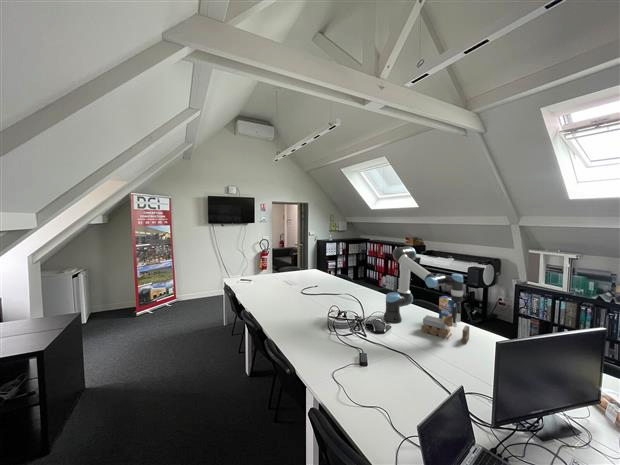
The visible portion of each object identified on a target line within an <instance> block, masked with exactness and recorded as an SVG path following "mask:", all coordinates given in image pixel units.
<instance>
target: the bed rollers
mask: <svg viewBox="0 0 620 465" xmlns="http://www.w3.org/2000/svg"><path fill="white" fill-rule="evenodd" d="M421 331H422V333H424V334H428V333H430V335H431V336H437V335H438V337H439V338H442V339H445V338H447V337H448V335H449V334H450V333H451V328H450V326H448V327H447V328H446V329H445V330H444V329H440V328H437V327H433V326H429V325H426V324H423V325H422V326H421Z"/></svg>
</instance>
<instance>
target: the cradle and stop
mask: <svg viewBox="0 0 620 465" xmlns="http://www.w3.org/2000/svg"><path fill="white" fill-rule="evenodd" d="M452 336H453V333H452V332H449V333H448V335H447V336H446V339H447V340H449V339H450V338H451V337H452ZM469 340H470V325H465V326H464V327H463V329H462V336H461V339H460V340H459V343H462V344H464V345H467V343H468V342H469Z"/></svg>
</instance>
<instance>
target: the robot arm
mask: <svg viewBox="0 0 620 465" xmlns="http://www.w3.org/2000/svg"><path fill="white" fill-rule="evenodd" d="M392 257H393V259H394V260H395V262H397V263H398V264H400V267H399V268H400V269H399V285H398V289H396V290H397V291H396V292H394V291H393V292H392V291H391V292H388V293H386V296H385V311H384V314H383V320H384V321H385V322H387V323H390V324H400V323H402V320H403V319H402V318H403V317H402V316H401V312H400V308H402V307H406V306H410V305H411V304H412V303H413V301H414V296H413V294H412V293H411V290H410V282H411V280H410V279H411V272H412V273H414V274H415V275H416V276H418V277H419V278H420V279H422V280H423V281H424V282H425V284H426V286H427V287H429V288H436V287H439V286H440V287H441V286H448V287H449V286H450V290H451V291H450V294H451V295H450V297H451V300H453V301H454V303H453V309H452V317H451V318H452V326H451V327H453V328H457V327H458V325H457V324H458V323H461V314H462V306H461V303H462V302H463V301H464V297H463V295H464V293H465V292H464V276H463V275H462V274H459V273H452V274H451V275H447V274H445V273H437V274H436V275H434V274H433V273H431V272H430V271H428V270H427V269H425V267H423V266H421V265H420V264H418V263H417V262H415V260H414V259H415V258H416V257H417V252H416V250H415V248H414V247H412V246H399V247H396V248H394V249H393V251H392ZM454 316H455V317H454Z"/></svg>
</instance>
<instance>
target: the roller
mask: <svg viewBox="0 0 620 465" xmlns="http://www.w3.org/2000/svg"><path fill="white" fill-rule="evenodd" d="M451 317H452V314H449V315H448V316H447V317H446V318H445V319H444V323H445V324H446V325H447V326H448V327H452V318H451ZM454 317H455V316H454Z"/></svg>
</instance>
